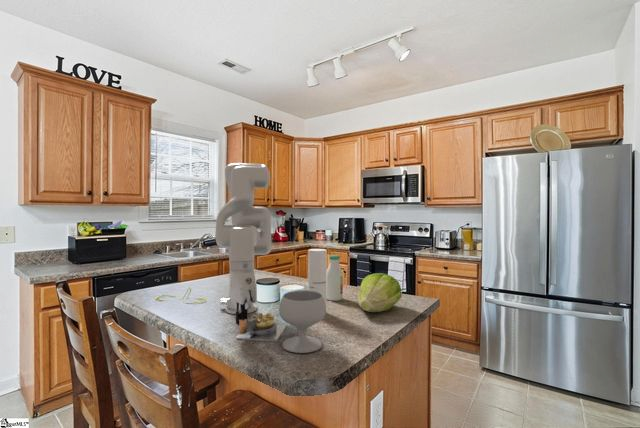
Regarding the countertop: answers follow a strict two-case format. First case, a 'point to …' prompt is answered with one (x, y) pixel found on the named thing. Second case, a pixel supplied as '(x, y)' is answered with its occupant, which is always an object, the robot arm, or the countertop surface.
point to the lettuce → (378, 292)
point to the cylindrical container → (317, 271)
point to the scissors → (183, 297)
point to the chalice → (302, 318)
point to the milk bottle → (334, 280)
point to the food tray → (256, 323)
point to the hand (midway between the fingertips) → (241, 323)
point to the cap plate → (264, 338)
